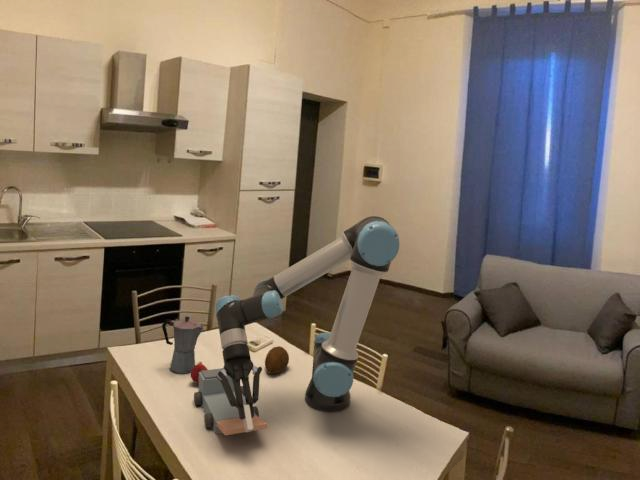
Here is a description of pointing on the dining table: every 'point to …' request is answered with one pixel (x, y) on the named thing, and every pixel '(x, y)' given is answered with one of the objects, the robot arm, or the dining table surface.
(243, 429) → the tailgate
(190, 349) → the moka pot
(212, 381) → the pickup bed
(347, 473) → the dining table surface
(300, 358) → the dining table surface
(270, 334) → the dining table surface
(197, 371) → the red rounded piece
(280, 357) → the potato
